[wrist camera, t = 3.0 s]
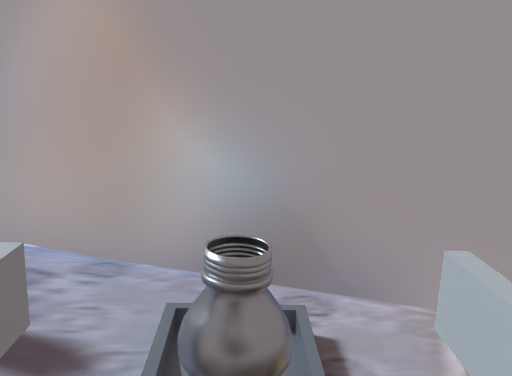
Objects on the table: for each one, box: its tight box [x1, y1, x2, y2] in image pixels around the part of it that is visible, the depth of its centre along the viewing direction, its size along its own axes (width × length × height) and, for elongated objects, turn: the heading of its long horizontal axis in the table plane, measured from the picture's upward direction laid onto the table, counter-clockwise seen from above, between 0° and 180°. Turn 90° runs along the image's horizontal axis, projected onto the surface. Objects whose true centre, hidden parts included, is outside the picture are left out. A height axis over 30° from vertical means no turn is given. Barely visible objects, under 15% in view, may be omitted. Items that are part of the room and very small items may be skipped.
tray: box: [142, 303, 325, 376], centre depth 44 cm, size 16×18×4 cm
